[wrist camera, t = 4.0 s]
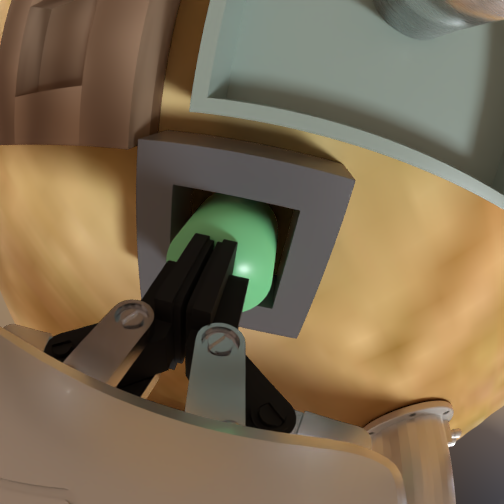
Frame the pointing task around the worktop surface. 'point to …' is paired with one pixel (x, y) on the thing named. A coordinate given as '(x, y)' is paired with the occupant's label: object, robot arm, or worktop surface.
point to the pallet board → (84, 71)
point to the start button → (237, 239)
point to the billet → (437, 15)
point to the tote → (361, 83)
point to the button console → (250, 187)
